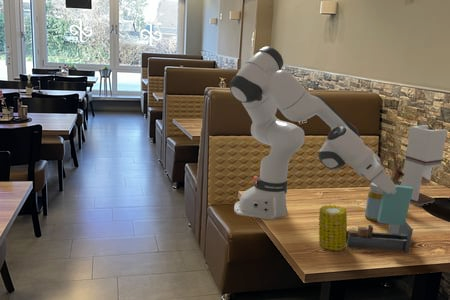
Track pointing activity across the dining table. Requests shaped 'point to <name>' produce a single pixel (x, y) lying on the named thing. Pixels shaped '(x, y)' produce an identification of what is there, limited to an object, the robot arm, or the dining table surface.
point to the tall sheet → (395, 206)
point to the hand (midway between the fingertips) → (392, 190)
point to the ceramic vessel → (396, 173)
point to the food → (332, 227)
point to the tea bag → (393, 229)
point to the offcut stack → (361, 232)
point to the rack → (384, 240)
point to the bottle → (373, 202)
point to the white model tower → (422, 160)
